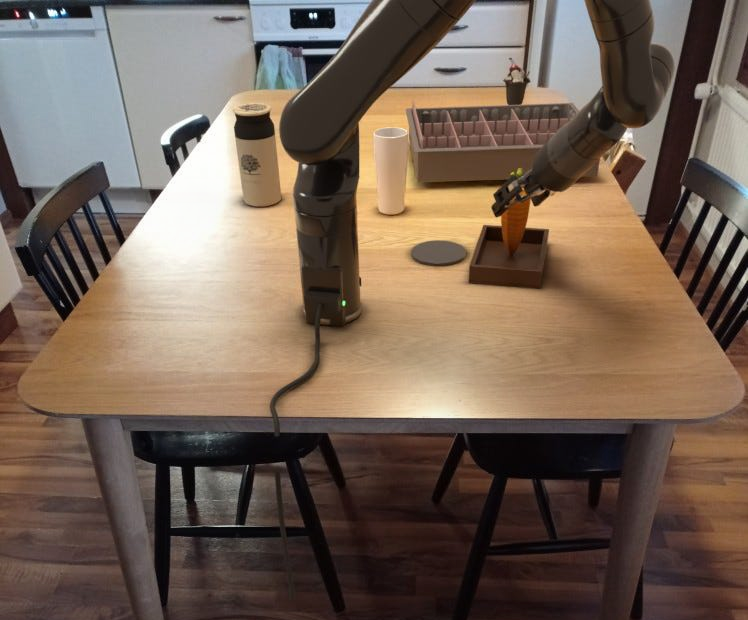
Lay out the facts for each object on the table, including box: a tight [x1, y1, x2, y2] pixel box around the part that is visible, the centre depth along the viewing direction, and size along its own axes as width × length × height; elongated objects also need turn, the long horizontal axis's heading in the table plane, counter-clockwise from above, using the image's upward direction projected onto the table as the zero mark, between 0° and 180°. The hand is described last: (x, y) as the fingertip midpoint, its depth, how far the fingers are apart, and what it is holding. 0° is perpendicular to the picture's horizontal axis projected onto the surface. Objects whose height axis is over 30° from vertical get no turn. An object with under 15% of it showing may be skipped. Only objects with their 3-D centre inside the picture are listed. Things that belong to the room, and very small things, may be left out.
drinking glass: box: [372, 126, 409, 216], centre depth 153 cm, size 7×7×15 cm
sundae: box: [502, 57, 531, 105], centre depth 196 cm, size 7×7×15 cm
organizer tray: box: [405, 100, 601, 183], centre depth 175 cm, size 32×40×10 cm
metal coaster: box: [410, 240, 467, 267], centre depth 141 cm, size 10×10×1 cm
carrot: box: [500, 168, 531, 255], centre depth 134 cm, size 5×5×15 cm
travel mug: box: [232, 102, 282, 208], centre depth 158 cm, size 8×8×18 cm
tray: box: [468, 224, 550, 289], centre depth 137 cm, size 18×12×3 cm, turn 167°
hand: (514, 206), depth 134 cm, fingers open, 8 cm apart
